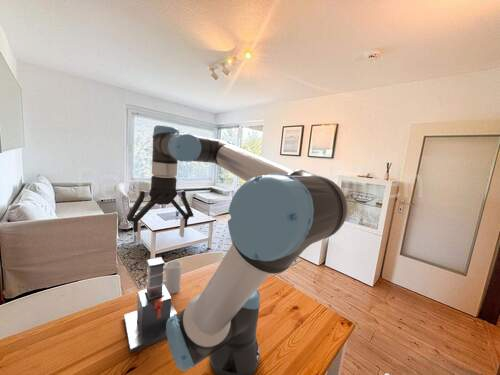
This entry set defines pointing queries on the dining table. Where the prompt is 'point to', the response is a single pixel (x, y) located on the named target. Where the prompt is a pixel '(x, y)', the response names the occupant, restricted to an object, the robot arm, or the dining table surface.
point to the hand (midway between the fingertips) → (161, 238)
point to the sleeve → (148, 320)
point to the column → (154, 278)
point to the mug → (172, 276)
